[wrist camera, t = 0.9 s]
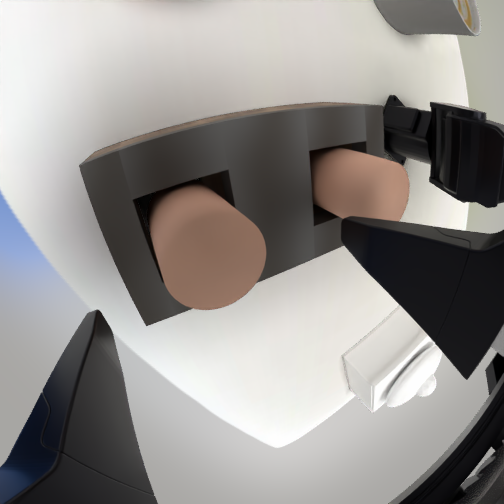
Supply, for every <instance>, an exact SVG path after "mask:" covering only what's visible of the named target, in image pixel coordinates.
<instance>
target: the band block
mask: <svg viewBox="0 0 504 504" xmlns="http://www.w3.org/2000/svg"><path fill="white" fill-rule="evenodd" d="M332 146H336V147H340V148H344V149H349V150H353V151H357V152H361V153H365V154H369V155H373V156H376V157H380V158H383V159H384V124H383V106H380V105H369V104H355V103H333V102H318V103H305V104H294V105H284V106H276V107H268V108H261V109H254V110H247V111H241V112H236V113H230V114H225V115H220V116H215V117H210V118H205V119H201V120H196V121H192V122H188V123H184V124H180V125H176V126H172V127H168V128H165V129H161V130H158V131H154V132H151V133H148V134H144V135H141V136H138V137H135V138H132V139H129V140H126V141H123V142H120V143H117V144H114V145H111V146H109V147H106V148H103V149H101V150H98V151H95V152H94V153H93V154H92V155H91V156H89V157H88V158H87V159H86V160H85V161H84V162H83V163H81V164H80V165H79V167H80V170H81V174H82V177H83V180H84V183H85V186H86V189H87V192H88V195H89V198H90V201H91V204H92V207H93V210H94V212H95V215H96V218H97V220H98V223H99V226H100V228H101V231H102V233H103V236H104V238H105V241H106V243H107V246H108V248H109V250H110V253H111V255H112V257H113V260H114V262H115V264H116V266H117V268H118V271H119V273H120V275H121V277H122V279H123V281H124V283H125V286H126V288H127V290H128V292H129V294H130V296H131V298H132V300H133V302H134V304H135V306H136V308H137V309H138V311H139V313H140V315H141V317H142V319H143V321H144V323H145V324H146V326H148V325H151V324H154V323H156V322H159V321H161V320H164V319H167V318H169V317H172V316H175V315H177V314H180V313H182V312H185V311H188V310H190V309H193V308H190V307H187V306H185V305H183V304H181V303H180V302H178V301H177V300H176V299H175V298H174V297H173V296H172V295H171V294H170V293H169V291H168V290H167V288H166V286H165V283H164V280H163V277H162V273H161V270H160V267H159V263H158V260H157V256H156V253H155V249H154V246H153V242H152V238H151V235H149V233H148V230H147V227H146V224H145V221H144V218H143V215H142V212H141V209H140V206H139V202H138V199H137V198H139V197H141V196H144V195H147V194H150V193H153V192H156V191H159V190H162V189H165V188H168V187H171V186H174V185H177V184H180V183H184V182H187V181H190V180H193V179H197V178H201V182H202V183H203V184H205V185H206V186H207V187H209V188H210V189H211V190H213V191H214V192H215V193H216V194H218V195H219V196H220V197H222V198H223V199H224V200H225V201H227V202H228V203H229V204H230V205H232V206H233V207H234V208H235V209H237V210H238V211H239V212H240V213H242V214H243V215H244V216H246V217H247V218H248V219H249V220H251V221H252V222H253V223H254V224H255V225H256V226H257V227H258V229H259V230H260V232H261V233H262V235H263V238H264V240H265V245H266V261H265V265H264V268H263V271H262V273H261V276H260V277H259V279H258V281H257V282H256V283H258V282H260V281H262V280H265V279H267V278H270V277H272V276H274V275H277V274H279V273H282V272H284V271H286V270H289V269H291V268H293V267H296V266H298V265H300V264H303V263H305V262H307V261H310V260H312V259H314V258H317V257H319V256H321V255H323V254H326V253H328V252H330V251H333V250H335V249H337V248H339V247H342V246H344V245H343V243H342V241H341V221H342V218H341V217H339V216H337V215H335V214H333V213H331V212H329V211H327V210H325V209H323V208H321V207H319V206H317V205H315V204H313V201H312V184H311V170H310V158H309V151H310V150H315V149H321V148H326V147H332Z"/></svg>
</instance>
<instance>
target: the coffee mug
mask: <svg viewBox="0 0 504 504" xmlns="http://www.w3.org/2000/svg"><path fill="white" fill-rule="evenodd" d="M374 2H375V4H376V6H377V7H378V9H379V11H380V13H381V14H382V15H383V17H384V18H385V19H386V21H387V22H388V23H389V24H390V25H391V26H392V27H393V28H394V29H396V30H397V31H399V32H400V33H402V34H406V35H411V34H454V35H469V36H478V35H479V34H480V32H481V20H480V14H479V10H478V7H477V4H476V1H475V0H374Z"/></svg>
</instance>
